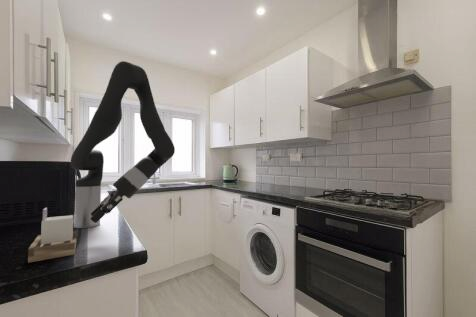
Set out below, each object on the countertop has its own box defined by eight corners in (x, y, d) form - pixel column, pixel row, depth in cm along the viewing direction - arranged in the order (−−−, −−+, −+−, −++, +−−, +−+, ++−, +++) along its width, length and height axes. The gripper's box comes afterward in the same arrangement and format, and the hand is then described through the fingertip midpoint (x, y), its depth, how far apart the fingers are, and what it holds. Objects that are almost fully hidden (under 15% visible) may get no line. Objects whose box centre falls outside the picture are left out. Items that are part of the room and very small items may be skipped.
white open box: (43, 245, 68) (44, 207, 69) (72, 240, 72) (73, 205, 73) (40, 250, 64) (41, 210, 64) (71, 245, 68) (72, 207, 68)
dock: (37, 247, 71) (38, 235, 71) (76, 241, 76) (76, 230, 76) (27, 262, 59) (28, 248, 59) (74, 254, 65) (74, 241, 65)
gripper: (121, 174, 84) (83, 208, 78) (125, 175, 73) (82, 215, 66) (136, 187, 87) (101, 221, 80) (142, 190, 75) (102, 230, 68)
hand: (92, 218), depth 73 cm, fingers open, 8 cm apart
